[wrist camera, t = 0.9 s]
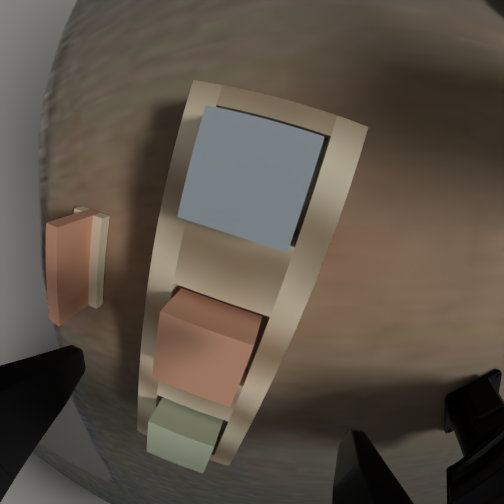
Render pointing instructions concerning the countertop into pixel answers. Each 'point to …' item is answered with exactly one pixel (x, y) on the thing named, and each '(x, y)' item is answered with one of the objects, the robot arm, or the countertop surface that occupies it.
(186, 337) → the terracotta button
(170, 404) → the sage button
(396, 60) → the countertop surface
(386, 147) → the countertop surface
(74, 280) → the terracotta sign
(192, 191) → the slate button
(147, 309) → the button panel
